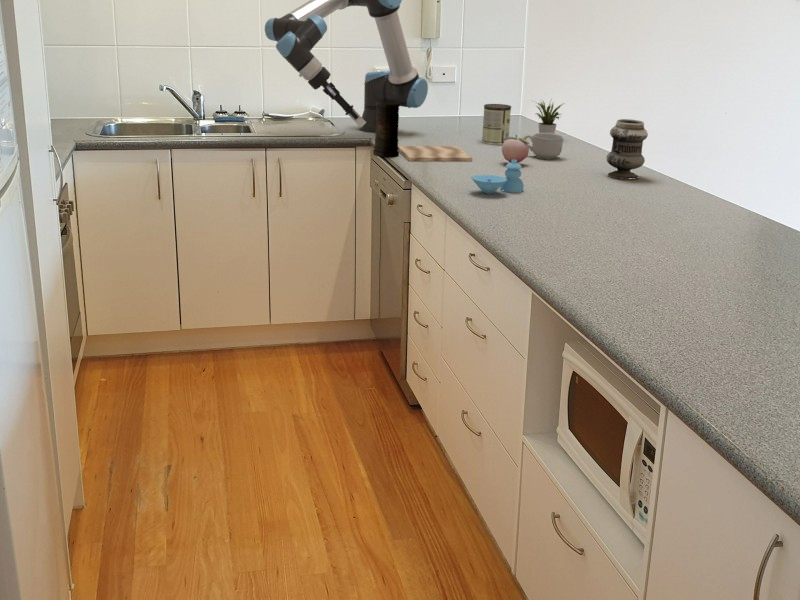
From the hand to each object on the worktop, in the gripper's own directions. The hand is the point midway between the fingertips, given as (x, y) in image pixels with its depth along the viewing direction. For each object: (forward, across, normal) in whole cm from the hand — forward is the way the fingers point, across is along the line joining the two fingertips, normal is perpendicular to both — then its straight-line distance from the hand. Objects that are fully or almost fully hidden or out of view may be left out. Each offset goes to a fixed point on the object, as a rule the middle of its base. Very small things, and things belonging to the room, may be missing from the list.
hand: (363, 124), depth 310 cm
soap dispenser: (+30, +57, +15) cm, 66 cm away
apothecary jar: (+64, +36, +50) cm, 89 cm away
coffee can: (+46, -27, +32) cm, 62 cm away
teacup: (+53, +3, +38) cm, 65 cm away
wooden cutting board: (+25, 0, +11) cm, 27 cm away
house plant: (+62, -35, +47) cm, 85 cm away
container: (+13, 0, -2) cm, 13 cm away
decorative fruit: (+42, +16, +28) cm, 53 cm away
